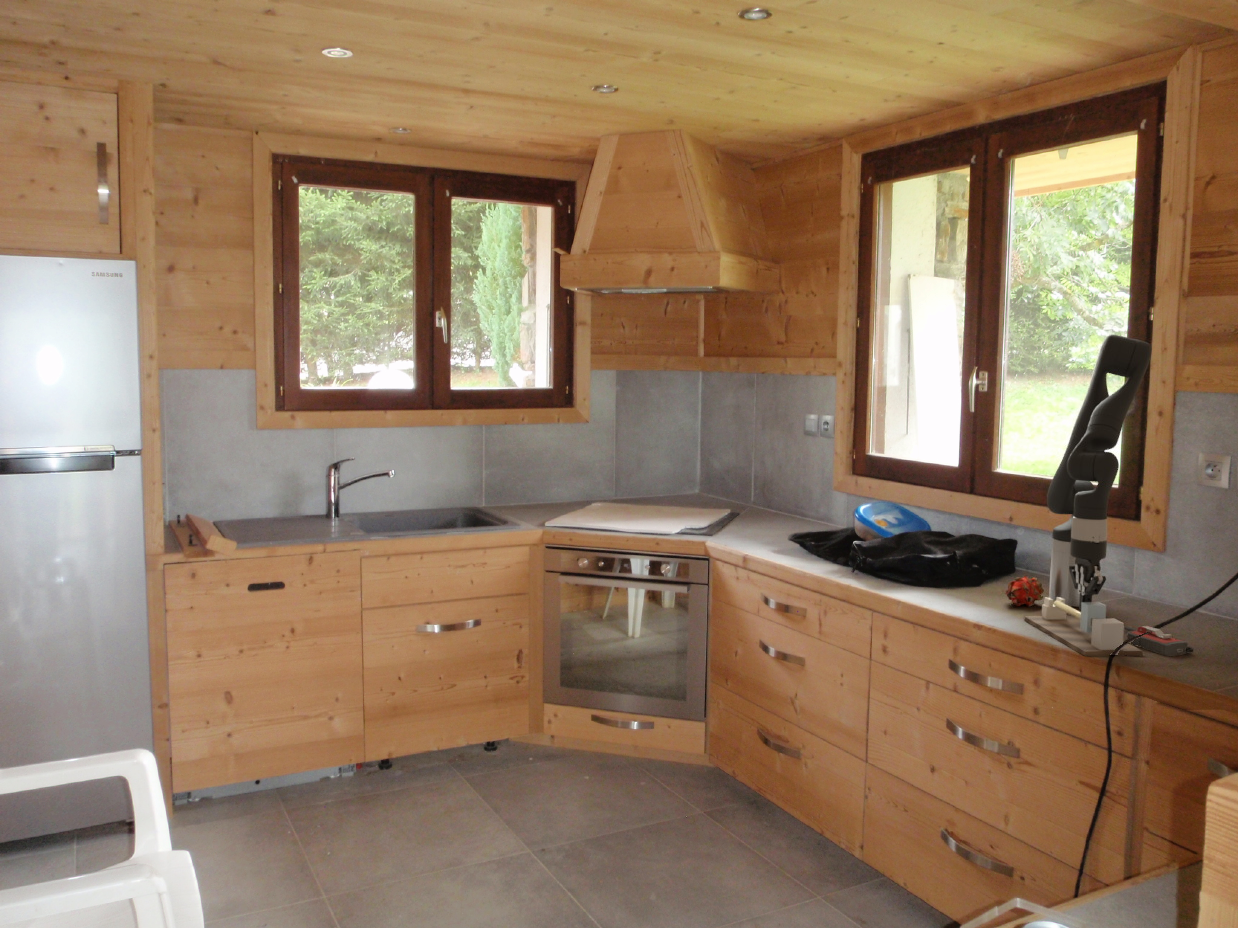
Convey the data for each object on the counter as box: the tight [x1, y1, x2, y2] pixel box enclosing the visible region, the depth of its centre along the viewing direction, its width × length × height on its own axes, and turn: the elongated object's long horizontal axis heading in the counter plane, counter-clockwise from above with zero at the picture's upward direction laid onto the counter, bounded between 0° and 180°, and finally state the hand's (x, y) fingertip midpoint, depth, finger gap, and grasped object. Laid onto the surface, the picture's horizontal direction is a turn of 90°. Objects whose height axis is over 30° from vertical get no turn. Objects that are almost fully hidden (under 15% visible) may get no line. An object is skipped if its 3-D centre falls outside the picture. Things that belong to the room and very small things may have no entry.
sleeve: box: [1080, 601, 1107, 633], centre depth 227 cm, size 3×4×6 cm
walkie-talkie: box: [1124, 625, 1195, 657], centre depth 228 cm, size 9×4×20 cm
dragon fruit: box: [1005, 574, 1045, 608], centre depth 263 cm, size 8×8×12 cm
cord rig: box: [1041, 596, 1125, 650], centre depth 233 cm, size 28×5×6 cm, turn 2°
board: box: [1023, 615, 1144, 657], centre depth 233 cm, size 30×13×1 cm, turn 2°
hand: (1085, 610), depth 231 cm, fingers closed
